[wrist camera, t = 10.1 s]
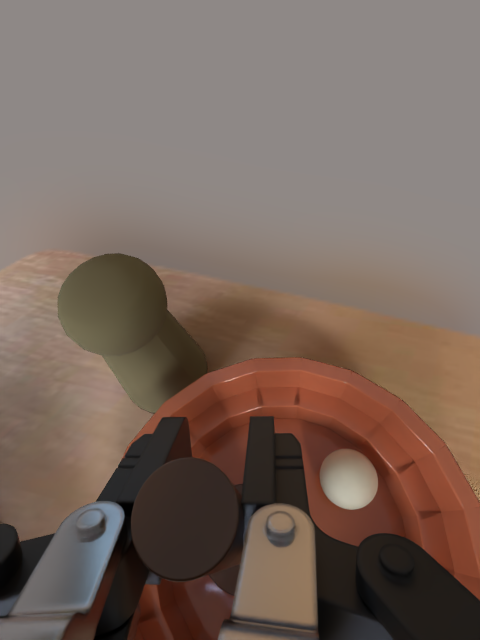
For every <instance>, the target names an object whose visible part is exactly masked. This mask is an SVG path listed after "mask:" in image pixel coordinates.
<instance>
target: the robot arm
mask: <svg viewBox="0 0 480 640" xmlns="http://www.w3.org/2000/svg"><path fill="white" fill-rule="evenodd" d="M186 457H192V449H191V440H190V430H189V422H188V419H187V417H162V418H161V420H160V422H159V424H158V425H157V427H156V429H155V431H154V433H153V434H144V435H142V436H141V437H140V438H138V439H137V440H136V441H135V442H133V443H132V444H131V446H130V447H129V449H128V451H127V452H126V454H125V455H124V458H123V459H122V460H121V462H120V463H119V465H118V468H116V470H115V472H114V473H113V475H112V476H111V478H110V480H109V481H108V483H107V484H106V486H105V488H104V489H103V491H102V492H101V494H100V496H99V497H98V499H97V501H96V502H93V503H90V504H87V505H85V506H83V507H80V508H79V509H77V510H75V511H74V512H73V513H71V514H70V515H69V516H68V517H67V518H66V519H65V520H64V521H63V522H62V523H61V525H60V526H59V528H58V530H57V531H56V533H54V534H50V535H46V536H42V537H38V538H34V539H30V540H26V541H22V542H20V541H19V537H18V534H17V531H16V529H15V528H14V527H13V526H11V525H8V524H0V640H135V636H136V632H137V628H138V624H139V620H140V614H141V609H140V603H139V600H140V597H141V594H142V591H143V589H144V586H145V584H152V585H160V583H161V580H162V578H160V577H158V576H156V575H155V574H154V573H152V572H151V571H150V570H149V569H148V568H147V567H146V566H145V565H144V564H143V563H142V561H141V560H140V558H139V556H138V554H137V553H136V550H135V547H134V545H133V541H132V536H131V515H132V509H133V505H134V502H135V499H136V497H137V495H138V492H139V490H140V489H141V487H142V485H143V484H144V482H145V481H146V480H147V479H148V477H149V476H150V475H151V474H152V473H153V472H154V471H156V470H157V469H158V468H159V467H161V466H162V465H164V464H166V463H168V462H170V461H172V460H176V459H179V458H186ZM241 505H242V509H243V515H244V533H243V544H244V547H243V552H242V557H241V563H240V568H239V573H238V579H237V584H236V589H235V595H234V600H233V606H232V611H231V615H230V618H229V619H224V621H223V623H222V625H221V628H220V632H219V636H218V640H480V600H479V599H478V598H477V597H476V596H475V595H473V594H472V593H471V592H470V591H469V590H468V589H467V588H466V587H465V586H464V585H462V584H461V583H460V582H459V581H458V580H457V579H456V578H455V577H454V576H453V575H451V574H450V573H449V572H448V571H447V570H446V569H445V568H444V567H443V566H442V565H440V564H439V563H438V562H437V561H436V560H435V559H434V558H433V557H432V556H431V555H429V554H428V553H427V552H426V551H425V550H424V549H423V548H421V547H420V546H419V545H418V544H416V543H414V542H413V541H411V540H409V539H407V538H405V537H402V536H399V535H395V534H390V533H378V534H373V535H371V536H368V537H367V538H365V539H364V540H363V541H362V542H361V543H360V545H359V546H355V545H352V544H348V543H345V542H342V541H339V540H336V539H334V538H332V537H330V536H329V535H327V534H326V533H324V532H323V531H322V530H321V529H320V528H319V527H318V526H317V525H316V524H315V522H314V521H313V519H312V517H311V515H310V510H309V503H308V495H307V488H306V480H305V472H304V465H303V458H302V449H301V443H300V442H299V441H298V440H297V438H296V437H295V436H294V435H293V433H275V430H274V416H250V422H249V431H248V440H247V450H246V459H245V468H244V477H243V486H242V495H241Z"/></svg>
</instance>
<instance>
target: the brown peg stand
mask: <svg viewBox="0 0 480 640" xmlns="http://www.w3.org/2000/svg"><path fill="white" fill-rule="evenodd" d="M242 486H243V484H237V485H233V483H232V482H231V481H230V480H229V478H228V477H227V476H226V474H225V473H224V472H223V471H222V470H221V469H220V468H218V467H217V466H216V465H214V464H213V463H211V462H209V461H206V460H204V459H200V458H193V457H186V458H179V459H176V460H172V461H170V462H168V463H166V464H164V465H162V466H161V467H159V468H158V469H157V470H156V471H154V472H153V473H152V474H151V475H150V476H149V477H148V479H147V480H146V481H145V482H144V484H143V485H142V487H141V489H140V490H139V492H138V495H137V497H136V499H135V502H134V505H133V509H132V515H131V536H132V541H133V545H134V547H135V550H136V553H137V554H138V556H139V558H140V560H141V561H142V563H143V564H144V565H145V566H146V567H147V568H148V569H149V570H150V571H151V572H152V573H154V574H155V575H156V576H158V577H160V578H162V579H165V580H168V581H173V582H187V581H193V580H195V579H198V578H201V577H204V576H207V575H209V577H210V578H211V579H212V580H213V582H214V583H215V584H216V585H217V586H218V587H219V588H221V589H222V590H223V591H225V592H226V593H228V594H230V595H233V596H234V595H235V589H236V584H237V579H238V573H239V568H240V563H241V557H242V552H243V547H244V544H243V533H244V515H243V509H242V505H241V495H242Z"/></svg>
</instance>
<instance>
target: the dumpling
mask: <svg viewBox="0 0 480 640" xmlns="http://www.w3.org/2000/svg"><path fill="white" fill-rule="evenodd" d="M320 483H321V487H322V489H323V491H324V493H325V495H326V496H327V497H328V499H329V500H330V501H331V502H333V503H334V504H335V505H337V506H339V507H341V508H344V509H349V510H356V509H360V508H363V507H365V506H366V505H368V504H369V503H370V502H371V501H372V500H373V498H374V497H375V495H376V492H377V488H378V477H377V473H376V470H375V468H374V466H373V464H372V463H371V461H370V460H369V459H368V458H367V457H366V456H365V455H363V454H362V453H360V452H358V451H356V450H352V449H339V450H336V451H334V452H332V453H330V454H329V455H328V456H327V457H326V458H325V459H324V461H323V463H322V465H321V468H320Z"/></svg>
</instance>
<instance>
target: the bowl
mask: <svg viewBox="0 0 480 640" xmlns="http://www.w3.org/2000/svg"><path fill="white" fill-rule="evenodd" d="M250 416H274V430H275V433H293V435H294V436H295V437H296V438H297V440H298V441H299V442H300V443H301V449H302V458H303V465H304V472H305V480H306V488H307V495H308V503H309V510H310V515H311V517H312V519H313V521H314V522H315V524H316V525H317V526H318V527H319V528H320V529H321V530H322V531H323V532H324V533H326V534H327V535H329V536H330V537H332V538H334V539H336V540H339V541H342V542H345V543H348V544H352V545H355V546H359V545H360V543H361V542H362V541H363V540H364V539H365V538H367V537H368V536H371V535H373V534H378V533H390V534H395V535H399V536H402V537H405V538H407V539H409V540H411V541H413V542H414V543H416V544H418V545H419V546H420V547H421V548H423V549H424V550H425V551H426V552H427V553H428V554H429V555H431V556H432V557H433V558H434V559H435V560H436V561H437V562H438V563H439V564H440V565H442V566H443V567H444V568H445V569H446V570H447V571H448V572H449V573H450V574H451V575H453V576H454V577H455V578H456V579H457V580H458V581H459V582H460V583H461V584H462V585H464V586H465V587H466V588H467V589H468V590H469V591H470V592H471V593H472V594H473V595H475V596H476V597H477V598H478V599H479V600H480V502H479V500H478V498H477V497H476V495H475V493H474V492H473V490H472V488H471V486H470V485H469V483H468V481H467V480H466V478H465V476H464V474H463V473H462V471H461V469H460V467H459V466H458V464H457V462H456V461H455V459H454V457H453V455H452V454H451V452H450V450H449V449H448V447H447V446H446V444H445V443H444V442H443V440H442V439H441V438H440V437H439V436H438V435H437V434H436V433H435V432H434V431H433V430H432V429H431V428H430V427H429V426H428V425H427V424H426V423H425V422H424V421H423V420H422V419H421V418H420V417H419V416H418V415H417V414H416V413H415V412H414V411H413V410H412V409H411V408H410V407H409V406H408V405H407V404H406V403H405V402H404V401H403V400H401V399H400V398H398V397H397V396H395V395H393V394H392V393H390V392H388V391H387V390H385V389H383V388H381V387H380V386H378V385H376V384H375V383H373V382H371V381H370V380H368V379H366V378H364V377H363V376H361V375H359V374H358V373H356V372H354V371H352V370H349V369H345V368H341V367H337V366H333V365H330V364H326V363H322V362H318V361H315V360H311V359H307V358H302V357H290V358H254V359H249V360H246V361H243V362H240V363H237V364H234V365H231V366H228V367H225V368H222V369H219V370H216V371H213V372H210V373H207V374H205V375H203V376H202V377H200V378H199V379H197V380H196V381H195V382H193V383H192V384H190V385H189V386H187V387H186V388H184V389H183V390H181V391H180V392H179V393H177V394H176V395H174V396H173V397H171V398H170V399H168V400H167V401H165V402H164V403H163V404H162V405H161V407H160V408H159V409H158V410H157V412H156V413H155V414H154V415H153V416H152V418H151V419H150V420H149V421H148V422H147V424H146V425H145V426H144V427H143V428H142V430H141V431H140V432H139V433H138V434H137V436H136V437H135V438H134V439H133V440H132V442H131V443H130V444H129V446H128V447H127V449H126V451H125V453H124V455H125V454H126V452H127V451H128V449H129V447H130V446H131V444H132V443H133V442H135V441H136V440H137V439H138V438H140V437H141V436H142V435H144V434H153V433H154V431H155V429H156V427H157V425H158V424H159V422H160V420H161V418H162V417H187V419H188V422H189V430H190V440H191V449H192V457H193V458H200V459H204V460H206V461H209V462H211V463H213V464H214V465H216V466H217V467H218V468H220V469H221V470H222V471H223V472H224V473H225V474H226V476H227V477H228V478H229V480H230V481H231V482H232V483H233V485H237V484H243V477H244V468H245V459H246V450H247V440H248V431H249V422H250ZM339 449H352V450H356V451H358V452H360V453H362V454H363V455H365V456H366V457H367V458H368V459H369V460H370V461H371V463H372V464H373V466H374V468H375V470H376V473H377V477H378V488H377V492H376V495H375V497H374V498H373V500H372V501H371V502H370V503H369V504H368V505H366V506H365V507H363V508H360V509H356V510H349V509H344V508H341V507H339V506H337V505H335V504H334V503H333V502H331V501H330V500H329V499H328V497H327V496H326V495H325V493H324V491H323V489H322V487H321V483H320V468H321V465H322V463H323V461H324V459H325V458H326V457H327V456H328V455H329V454H330V453H332V452H334V451H336V450H339ZM124 455H123V458H124ZM123 458H122V459H123ZM233 600H234V596H233V595H230V594H228V593H226V592H225V591H223V590H222V589H221V588H219V587H218V586H217V585H216V584H215V583H214V582H213V580H212V579H211V578H210V577H209V575H207V576H204V577H201V578H198V579H195V580H193V581H187V582H173V581H168V580H165V579H162V580H161V583H160V585H152V584H145V586H144V589H143V591H142V594H141V597H140V600H139V603H140V609H141V614H140V620H139V624H138V628H137V632H136V636H135V640H218V636H219V632H220V628H221V625H222V623H223V621H224V619H229V618H230V615H231V611H232V606H233Z"/></svg>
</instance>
